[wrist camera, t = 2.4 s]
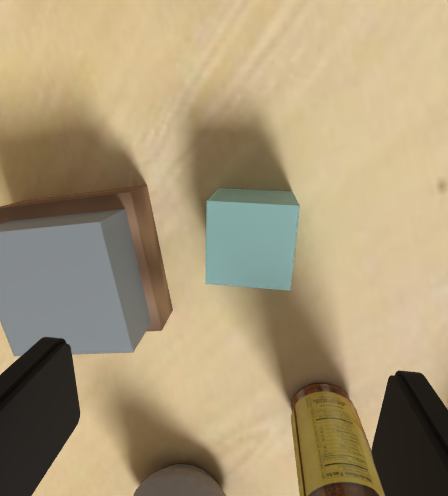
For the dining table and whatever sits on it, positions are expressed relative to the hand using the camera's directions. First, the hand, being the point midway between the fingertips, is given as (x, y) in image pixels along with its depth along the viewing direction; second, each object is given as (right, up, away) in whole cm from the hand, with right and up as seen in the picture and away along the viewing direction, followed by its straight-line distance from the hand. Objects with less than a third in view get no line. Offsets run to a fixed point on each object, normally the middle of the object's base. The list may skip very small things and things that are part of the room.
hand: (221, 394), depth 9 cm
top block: (-12, +2, +17) cm, 21 cm away
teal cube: (+3, +6, +18) cm, 19 cm away
